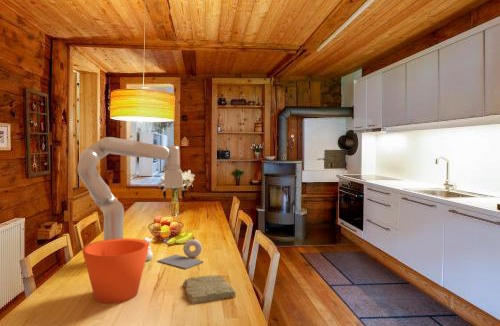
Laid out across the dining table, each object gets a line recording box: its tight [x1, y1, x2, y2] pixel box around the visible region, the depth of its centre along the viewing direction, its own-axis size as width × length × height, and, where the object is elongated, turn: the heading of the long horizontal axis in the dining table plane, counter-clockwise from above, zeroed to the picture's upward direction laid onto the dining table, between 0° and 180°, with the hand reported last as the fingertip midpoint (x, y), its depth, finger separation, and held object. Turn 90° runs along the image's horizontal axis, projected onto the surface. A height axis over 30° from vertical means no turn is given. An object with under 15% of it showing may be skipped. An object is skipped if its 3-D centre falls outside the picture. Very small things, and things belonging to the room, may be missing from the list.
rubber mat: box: [157, 254, 204, 270], centre depth 184 cm, size 13×20×1 cm, turn 57°
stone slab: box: [182, 274, 236, 305], centre depth 147 cm, size 19×20×4 cm
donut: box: [182, 238, 203, 259], centre depth 191 cm, size 10×4×10 cm, turn 101°
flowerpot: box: [81, 237, 150, 305], centre depth 141 cm, size 25×25×20 cm
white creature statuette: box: [142, 236, 154, 262], centre depth 187 cm, size 10×9×12 cm
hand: (173, 197), depth 200 cm, fingers open, 9 cm apart
